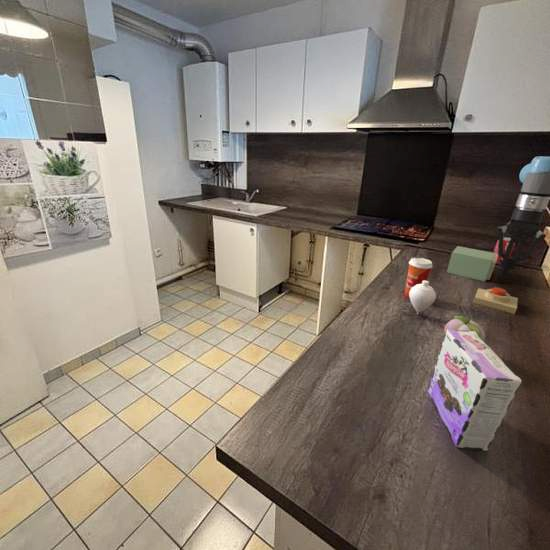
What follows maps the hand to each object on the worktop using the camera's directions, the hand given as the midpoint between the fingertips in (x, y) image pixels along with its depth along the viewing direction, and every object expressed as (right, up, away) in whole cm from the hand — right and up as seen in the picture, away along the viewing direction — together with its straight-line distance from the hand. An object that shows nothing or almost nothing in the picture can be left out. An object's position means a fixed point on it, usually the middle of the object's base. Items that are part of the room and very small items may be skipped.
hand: (503, 277), depth 101 cm
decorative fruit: (-30, -20, -22) cm, 42 cm away
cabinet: (+7, +2, +30) cm, 31 cm away
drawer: (+10, +2, +27) cm, 29 cm away
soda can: (+33, +7, +45) cm, 56 cm away
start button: (0, -6, +2) cm, 6 cm away
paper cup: (-29, -7, +6) cm, 30 cm away
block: (-1, -9, +3) cm, 10 cm away
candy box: (-44, -28, -43) cm, 67 cm away
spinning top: (-33, -12, -6) cm, 36 cm away
